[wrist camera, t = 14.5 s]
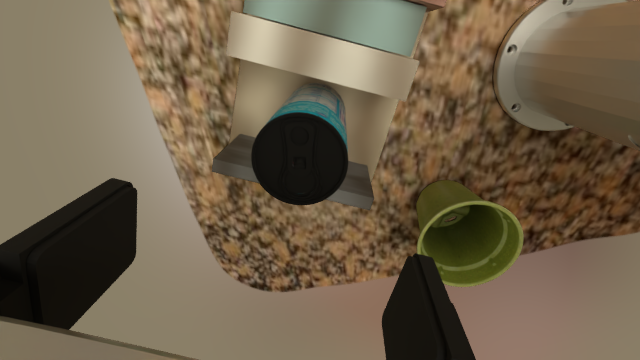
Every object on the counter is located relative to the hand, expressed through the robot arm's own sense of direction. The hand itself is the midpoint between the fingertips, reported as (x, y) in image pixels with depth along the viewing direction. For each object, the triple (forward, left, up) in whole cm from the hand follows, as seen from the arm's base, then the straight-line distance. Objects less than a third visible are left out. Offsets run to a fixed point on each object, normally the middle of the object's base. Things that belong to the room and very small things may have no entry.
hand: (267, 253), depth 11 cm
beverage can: (0, 0, -25) cm, 25 cm away
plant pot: (-17, +7, -26) cm, 32 cm away
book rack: (0, -2, -26) cm, 26 cm away
